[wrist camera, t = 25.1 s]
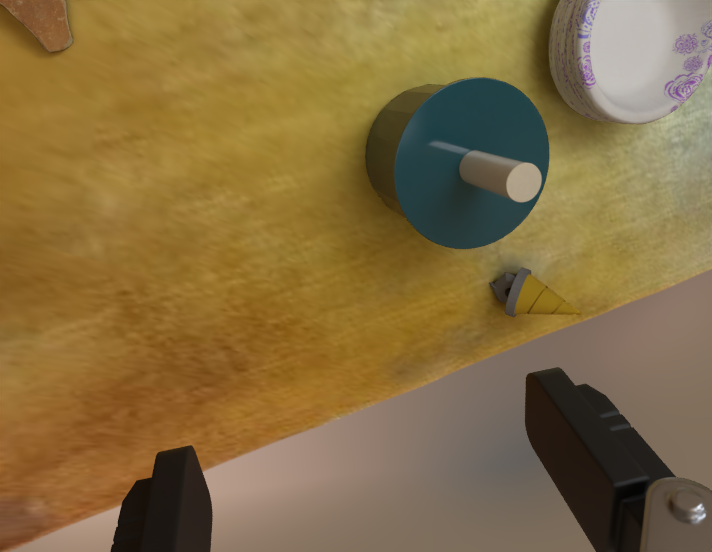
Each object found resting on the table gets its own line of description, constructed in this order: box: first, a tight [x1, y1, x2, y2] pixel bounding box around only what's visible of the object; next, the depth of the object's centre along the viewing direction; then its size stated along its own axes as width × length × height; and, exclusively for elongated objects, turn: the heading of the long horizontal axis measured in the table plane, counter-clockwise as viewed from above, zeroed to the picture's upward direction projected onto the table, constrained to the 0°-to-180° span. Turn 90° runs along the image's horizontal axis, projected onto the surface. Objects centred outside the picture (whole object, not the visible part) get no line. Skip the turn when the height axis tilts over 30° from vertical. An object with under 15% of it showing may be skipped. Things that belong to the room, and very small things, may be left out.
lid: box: [392, 78, 549, 249], centre depth 44 cm, size 14×14×9 cm
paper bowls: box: [549, 0, 712, 125], centre depth 54 cm, size 15×15×8 cm
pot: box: [366, 84, 445, 218], centre depth 52 cm, size 13×13×10 cm
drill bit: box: [489, 268, 581, 317], centre depth 61 cm, size 5×5×10 cm
